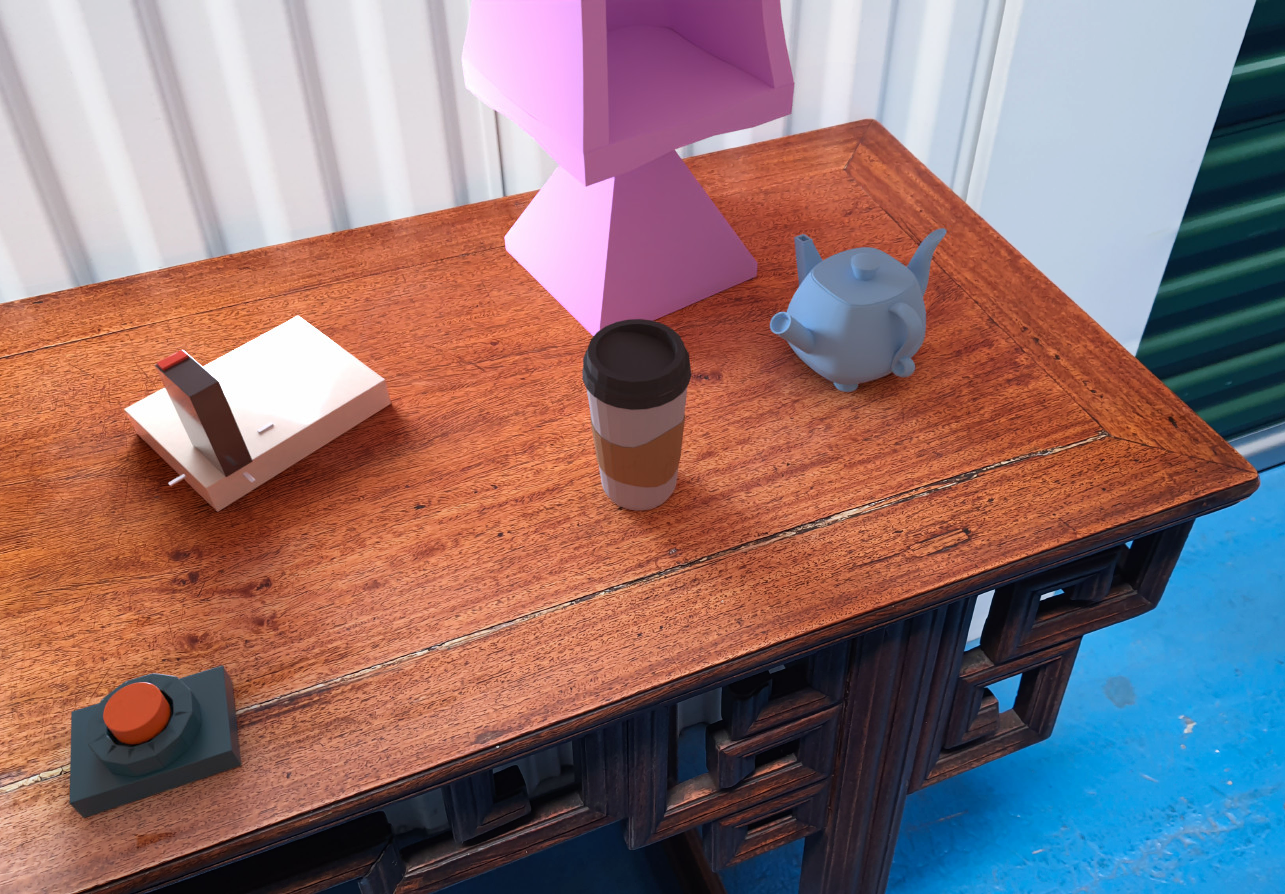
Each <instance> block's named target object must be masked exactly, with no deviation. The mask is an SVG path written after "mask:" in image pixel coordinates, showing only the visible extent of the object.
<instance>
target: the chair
mask: <svg viewBox="0 0 1285 894" xmlns="http://www.w3.org/2000/svg"><path fill="white" fill-rule="evenodd" d="M470 3H471V4H470V10H469V17H468V23H467V28H466V33H465V38H464V43H463V48H462V54H461V65H462V71H463V79H464V87H465V89H467V91H469V92H471V93H472V94H473V95H474V96H475V97H477V98H478V99H479V100H480V101H481V102H482V103H484V104H485V105H486V106H488V107H489V108H491V109H493V110H494V111H496V112H497V113H499V114H501V115H503V116H504V117H506V118H508V119H509V120H510V121H512V122H513V123H514V124H515V125H516V126H517V127H519V128H520V129H521V130H522V131H524V132H525V133H526V134H527V135H528V136H530V137H531V138H532V139H533V140H534V141H535V142H536V143H537V144H538V145H539V146H540V147H541V148H542V149H543V150H544V151H545V152H546V154H548V155H549V156H550V157H551V159H553V160H554V162H556V163H557V164H558V166H557V167H556V168H555V170H554V171H553V173H551V175H550V177H549V178H548V179H547V180H546V182H545V183H544V184H543V186H542V187H541V188H540V190H538V192H537V193H536V195H535V196H534V198H532V200H531V202H530V203H529V204H528V205H527V207H526V208H525V209H524V211H523V212H522V213H521V215H520V216H519V217H518V218H517V220H516V221H515V223H514V224H513V225H512V226H511V228H510V229H509V231H508V232H507V233H506V234H505V236H504V237H503V238H504V244H505V250H506V252H507V253H508V254H509V255H510V256H512V257H513V258H514V259H515V261H517V263H518V264H519V265H521V266H522V267H523V269H524V270H526V271H527V272H528V273H529V274H530V275H531V276H532V277H533V279H535V281H537V282H538V283H539V284H540V285H541V286H542V288H544V290H546V291H547V292H548V293H549V294H550V295H551V296H552V297H553V298H554V299H555V300H556V301H557V302H558V303H559V304H560V305H561V306H562V307H563V308H564V309H565V310H566V311H567V312H568V313H569V314H570V315H571V316H572V317H573V318H574V319H575V320H576V321H577V322H578V323H579V324H580V325H581V326H582V327H583V328H584V329H585V330H586V331H587V332H588V333H589V334H590V335H591V336H592V337H593V336H594V335H595V334H596V333H597V332H598V331H600V330H601V329H603V328H604V327H606V326H608V325H610V324H613V323H615V322H619V321H624V320H630V319H644V320H652V321H655V320H659V318H663V317H665V316H667V315H670V314H672V313H674V312H676V311H679V310H681V309H684V308H687V307H688V306H690V305H691V306H692V305H693V304H695V303H698V302H700V301H703V300H706V299H707V298H709V297H712V296H715V295H717V294H719V293H721V292H723V291H725V290H728V289H731V288H732V287H735V286H737V285H740V284H742V283H744V282H747V281H749V280H751V279H754V278H756V277H757V275H758V261H757V260H756V258H754V256H753V255H752V254H751V252H750V250H749V249H748V248H747V247H746V245H745V244H744V242H743V241H742V240H741V239H740V237H739V236H738V234H737V233H736V231H735V230H734V229H733V227H732V226H731V225H730V223H729V222H728V220H727V219H726V218H725V217H724V215H723V213H722V212H721V210H719V208H718V207H717V205H716V204H715V202H713V200H712V199H711V198H710V196H709V194H708V193H707V192H706V190H705V189H704V188H703V186H702V185H701V184H700V182H699V181H698V180H697V178H696V177H695V175H694V174H693V172H692V171H691V169H689V167H688V166H687V164H686V163H685V161H684V160H683V159H682V157H681V156H680V155H679V154H678V153H679V152H677V151H676V150H678V149H680V148H683V147H686V146H689V145H691V144H694V143H697V142H701V141H704V140H706V139H709V138H712V137H715V136H720V135H724V134H729V133H733V132H738V131H743V130H748V129H752V128H755V127H759V126H762V125H764V124H767V123H770V122H772V121H776V120H778V119H781V118H784V117H786V116H790V115H792V112H793V103H794V92H795V80H794V74H793V70H792V65H791V60H790V55H789V52H788V46H787V40H786V35H785V29H784V22H783V16H782V15H783V14H782V4H781V0H471V2H470Z"/></svg>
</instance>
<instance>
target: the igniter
mask: <svg viewBox="0 0 1285 894" xmlns="http://www.w3.org/2000/svg"><path fill="white" fill-rule="evenodd" d="M139 682H145V683H150V684H153V685H155V686H156V687H157V688H158V689H159V690H160V691H161V693H162V694H163V696H164V697H165V699H166V700H167V702H168V703H169V705H170V710H171V712H170V718H169V721H168V723H167V725H166V726H165V728H164V729H163V730H162V731H161V732H160V733H159V734H158V735H157V736H155V737H154V738H152V739H151V740H149V741H146V742H144V743H140V744H125V743H122V742H120V741H119V740H118V739H117V738H116V737H115V736H114V734H113V733H112V732H111V731H110V729H109V728H108V727H107V726H106V724H105V722H104V719H103V713H104V709H105V706H106V704H107V702H108V701H109V699H110V698H111V697H112V696H113V695H114V694H115V693H116V692H117V691H119V690H120V689H122V688H124V687H126V686H128V685H130V684H134V683H139ZM234 693H235V691H234V683H233V680H232V678H231V677H230V674H229V673H228V671H227V670H226V668H225V666H224V665H223V664H222V665H219V666H215V667H212V668H209V669H206V670H202V671H199V672H196V673H193V674H189V675H186V676H183V677H178V676H176V675H171V674H163V673H155V672H152V673H148V674H145V675H141V676H138V677H135V678H132V679H128V680H126V681H124V682H122V683H121V684H120V685H118V686H117V687H116V688H114V689H113V690H112V691H110V692H109V693H108V694H106V695H105V696H103V698H102V699H101V700H100V702H98V703H95V704H90V705H89V706H85V707H82V708H79V709H76V710H72V711H71V713H70V714H71V716H70V717H71V718H70V719H71V720H70V757H69V758H70V759H69V760H70V761H69V764H70V765H69V766H70V767H69V771H70V772H69V803H68V804H69V805H70V806H71V807H72V808H73V809H74V810H75V811H76V812H77V813H78V814H79V815H80V816H81V817H82V818H83V819H85V818H89V817H91V816H95V815H99V814H100V813H103V812H106V811H109V810H112V809H115V808H119V807H122V806H124V805H127V804H130V803H131V804H132V803H134V802H137V801H139V800H142V799H143V800H144V799H146V798H149V797H151V796H155V795H158V794H161V793H164V792H166V791H169V790H173V789H176V788H178V787H181V786H182V787H183V786H185V785H188V784H191V783H193V782H196V781H200V780H202V779H206V778H208V777H212V776H215V775H218V774H221V773H225V772H227V771H230V770H233V769H236V768H239V767H242V756H241V747H240V741H239V740H240V738H239V729H238V720H237V711H236V702H235V694H234Z"/></svg>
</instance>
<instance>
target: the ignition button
mask: <svg viewBox="0 0 1285 894" xmlns="http://www.w3.org/2000/svg"><path fill="white" fill-rule="evenodd" d="M170 712H171V710H170V705H169V703H168V702H167V700H166V699H165V697H164V696H163V694H162V693H161V691H160V690H159V689H158V688H157V687H156V686H155V685H153V684H150V683H145V682H139V683H134V684H130V685H128V686H126V687H124V688H122V689H120V690H119V691H117V692H116V693H115V694H114V695H113V696H112V697H111V698H110V699H109V701H108V702H107V704H106V706H105V709H104V713H103V719H104V722H105V724H106V726H107V727H108V728H109V729H110V731H111V732H112V733H113V734H114V736H115V737H116V738H117V739H118V740H119V741H120V742H122V743H125V744H140V743H144V742H146V741H149V740H151V739H152V738H154V737H155V736H157V735H158V734H159V733H160V732H161V731H162V730H163V729H164V728H165V726H166V725H167V723H168V721H169V718H170Z"/></svg>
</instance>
